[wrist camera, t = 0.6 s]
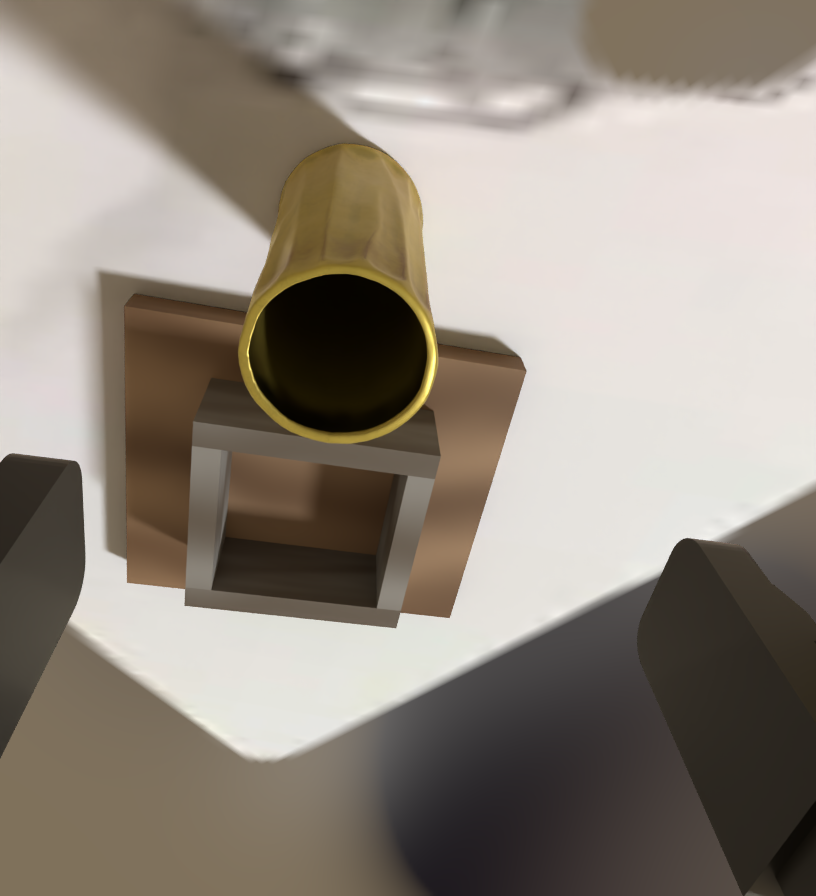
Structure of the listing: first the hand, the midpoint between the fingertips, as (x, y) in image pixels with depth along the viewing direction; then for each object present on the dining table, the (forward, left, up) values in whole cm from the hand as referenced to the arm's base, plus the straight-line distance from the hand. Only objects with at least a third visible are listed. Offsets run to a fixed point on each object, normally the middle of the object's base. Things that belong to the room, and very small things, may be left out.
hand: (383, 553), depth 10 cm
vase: (+2, -1, -24) cm, 24 cm away
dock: (+15, -1, -24) cm, 28 cm away
